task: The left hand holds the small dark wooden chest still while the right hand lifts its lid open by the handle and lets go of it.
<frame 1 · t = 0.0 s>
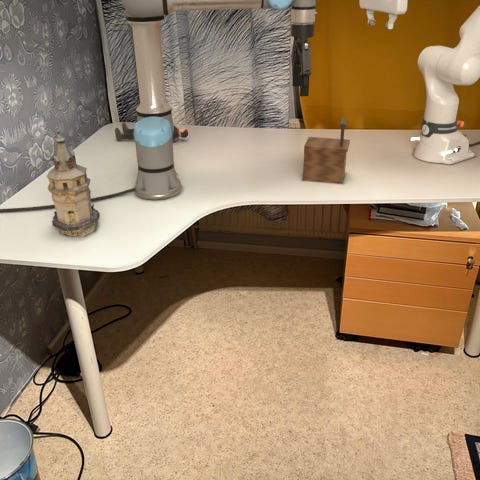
left hand: (300, 91, 180), 28 cm above the table, tool pointing down, fingers open, 13 cm apart
right hand: (379, 26, 169), 48 cm above the table, tool pointing down, fingers open, 8 cm apart
toy: (154, 139, 224), on the table
chest: (324, 176, 187), on the table
lid: (328, 132, 179), point 16 cm above the table, hinge at 0.0°
miniature building: (78, 229, 156), on the table
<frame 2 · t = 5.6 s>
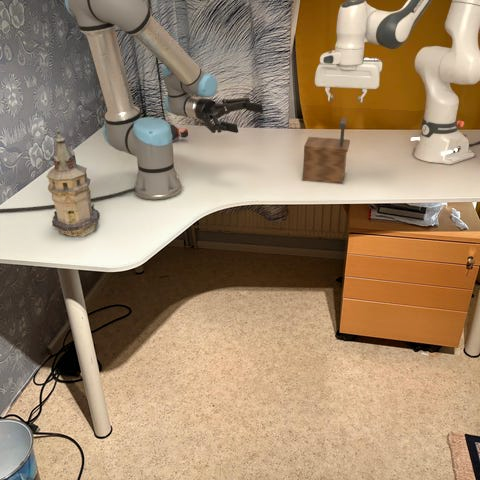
left hand: (249, 118, 174), 22 cm above the table, tool horizontal, fingers open, 13 cm apart
right hand: (345, 101, 173), 27 cm above the table, tool pointing down, fingers open, 8 cm apart
nothing on the table moved.
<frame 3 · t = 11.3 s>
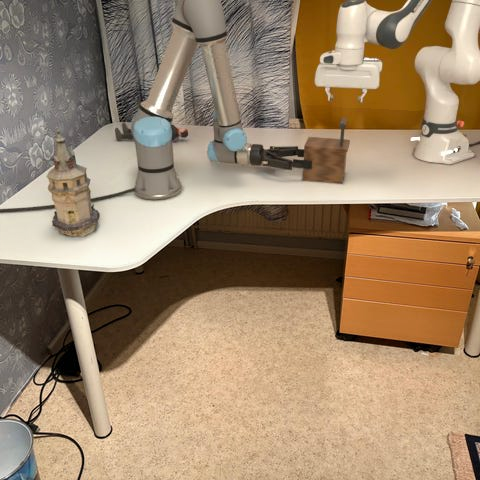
left hand: (314, 159, 185), 6 cm above the table, tool horizontal, fingers closed on chest, 10 cm apart
right hand: (345, 101, 173), 27 cm above the table, tool pointing down, fingers open, 8 cm apart
chest: (323, 176, 187), on the table, touching left hand
everything else where it was.
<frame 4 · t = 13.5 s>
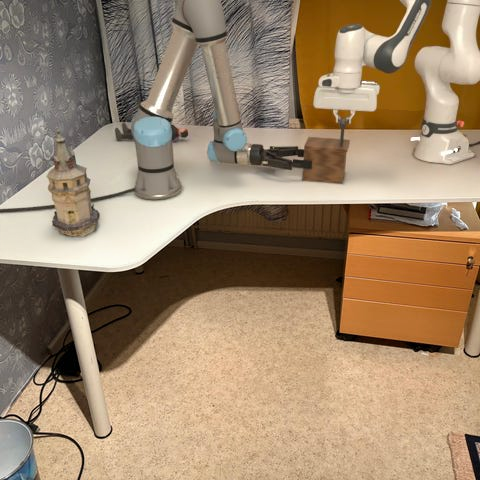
left hand: (313, 159, 185), 6 cm above the table, tool horizontal, fingers closed on chest, 10 cm apart
right hand: (343, 122, 176), 20 cm above the table, tool pointing down, fingers closed on lid, 2 cm apart
chest: (323, 176, 187), on the table, touching left hand
lid: (328, 132, 179), point 16 cm above the table, hinge at -0.1°, touching right hand
everything else where it was.
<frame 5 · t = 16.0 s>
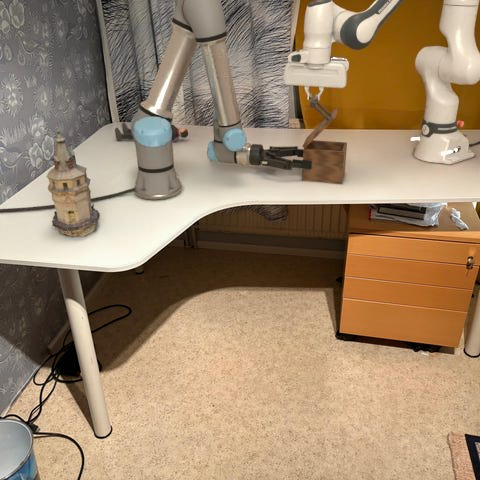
left hand: (313, 159, 185), 6 cm above the table, tool horizontal, fingers closed on chest, 10 cm apart
right hand: (313, 100, 175), 27 cm above the table, tool pointing down, fingers closed, pressing on lid
chest: (323, 176, 187), on the table, touching left hand
lid: (311, 120, 178), point 20 cm above the table, hinge at 48.8°, touching right hand
everything else where it was.
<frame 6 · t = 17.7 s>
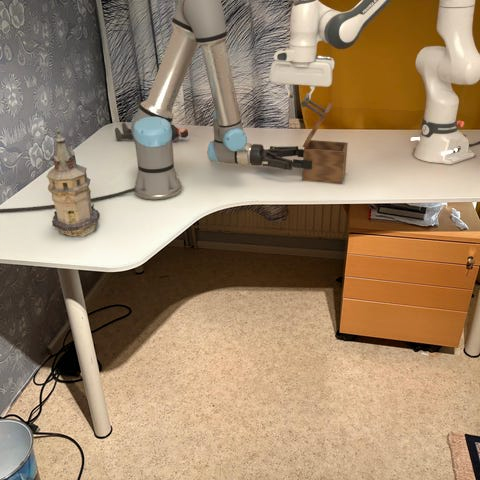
left hand: (314, 159, 185), 6 cm above the table, tool horizontal, fingers closed on chest, 10 cm apart
right hand: (299, 98, 176), 27 cm above the table, tool pointing down, fingers open, 5 cm apart
chest: (324, 176, 187), on the table, touching left hand
lid: (307, 119, 179), point 20 cm above the table, hinge at 60.6°, touching right hand
everything else where it was.
when the left hand's fingers open (6 cm above the table, at t = 21.0 s): chest stays where it is, on the table.
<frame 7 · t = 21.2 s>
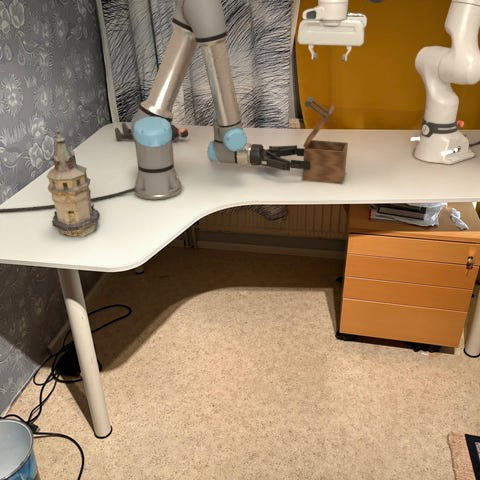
left hand: (312, 159, 185), 6 cm above the table, tool horizontal, fingers open, 11 cm apart
right hand: (329, 60, 168), 39 cm above the table, tool pointing down, fingers open, 8 cm apart
chest: (324, 176, 187), on the table
lid: (309, 119, 179), point 20 cm above the table, hinge at 56.6°
everything else where it was.
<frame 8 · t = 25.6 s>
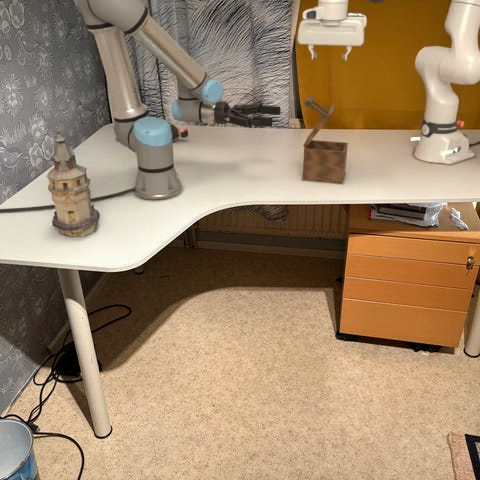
left hand: (276, 116, 181), 20 cm above the table, tool horizontal, fingers open, 13 cm apart
right hand: (329, 60, 168), 39 cm above the table, tool pointing down, fingers open, 8 cm apart
nothing on the table moved.
at the end: lid at +57° (first picture: +0°); the left hand is holding nothing; the right hand is holding nothing; chest tilted 0°; chest never tilted more than 1° during the clip; chest moved 0.0 cm from its start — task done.
